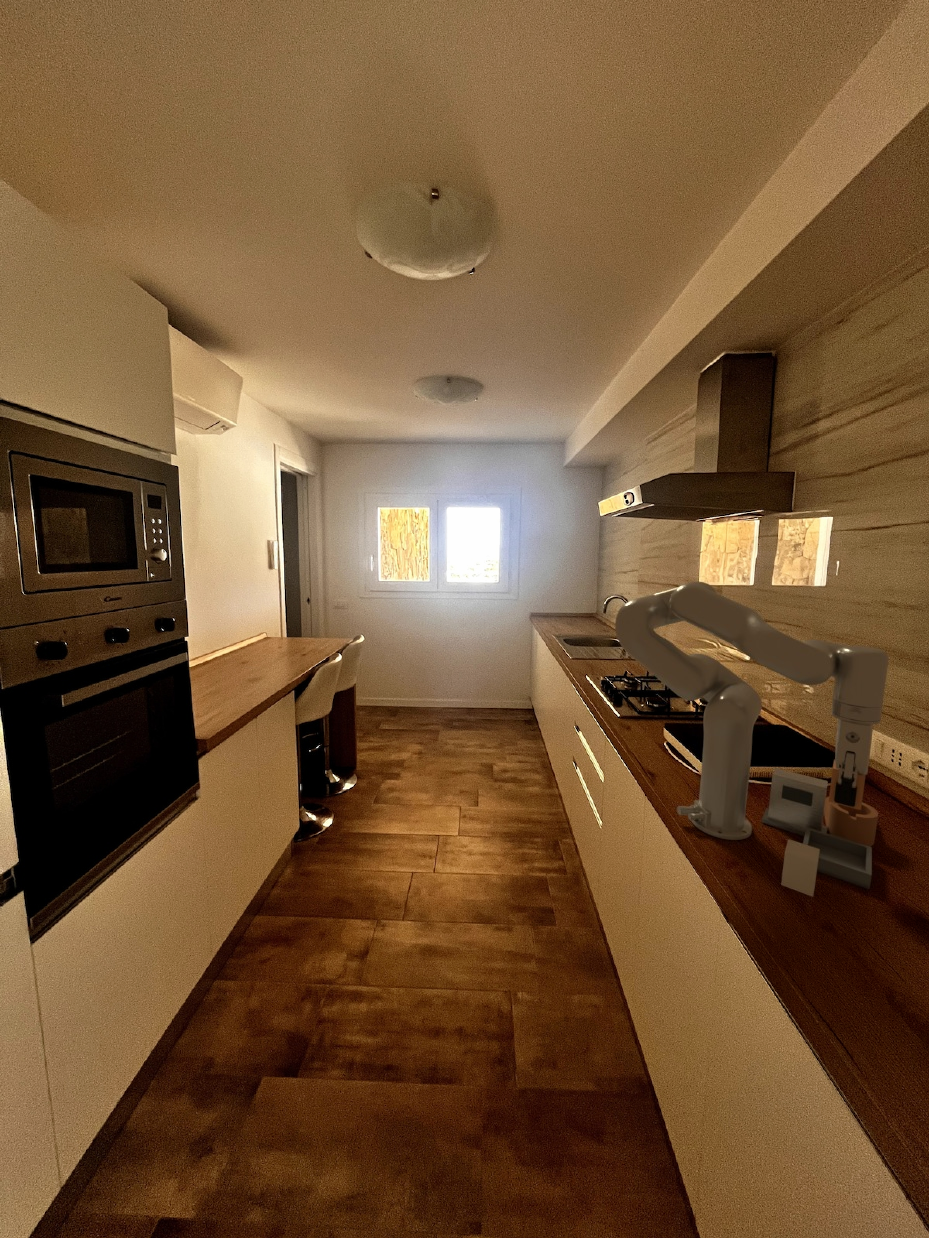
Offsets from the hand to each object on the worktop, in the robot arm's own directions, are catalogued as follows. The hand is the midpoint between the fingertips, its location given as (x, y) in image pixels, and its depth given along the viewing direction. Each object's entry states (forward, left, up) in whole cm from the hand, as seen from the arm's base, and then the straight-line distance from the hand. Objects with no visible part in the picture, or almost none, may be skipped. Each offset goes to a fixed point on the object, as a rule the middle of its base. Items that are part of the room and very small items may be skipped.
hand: (844, 797), depth 97 cm
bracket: (+13, +13, -15) cm, 24 cm away
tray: (0, 0, -14) cm, 14 cm away
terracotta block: (0, 0, -1) cm, 1 cm away
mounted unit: (0, +13, -14) cm, 19 cm away
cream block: (-12, -6, -15) cm, 20 cm away
